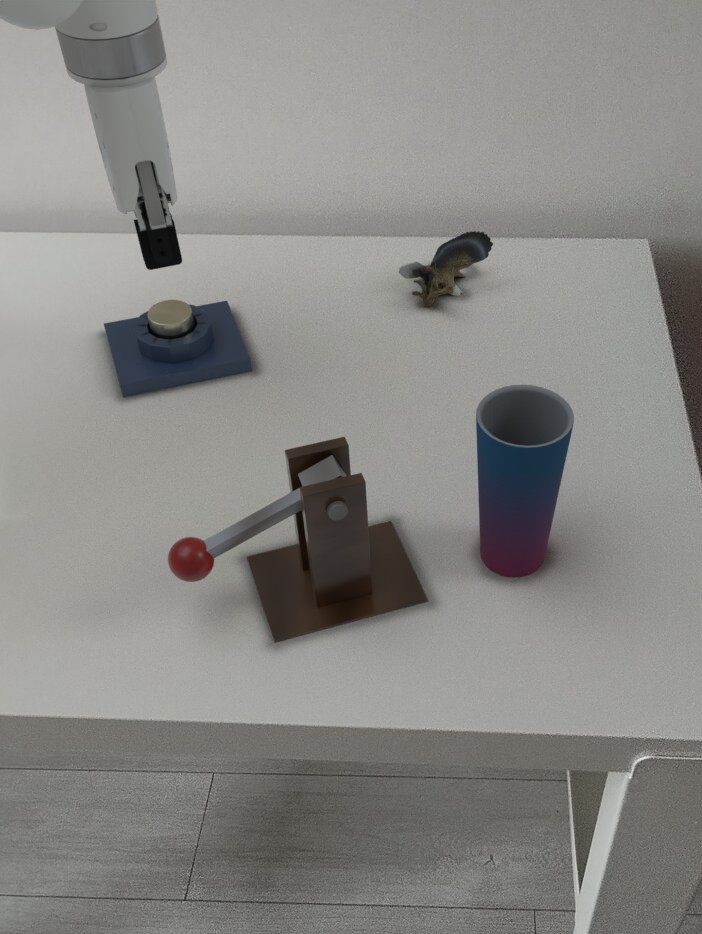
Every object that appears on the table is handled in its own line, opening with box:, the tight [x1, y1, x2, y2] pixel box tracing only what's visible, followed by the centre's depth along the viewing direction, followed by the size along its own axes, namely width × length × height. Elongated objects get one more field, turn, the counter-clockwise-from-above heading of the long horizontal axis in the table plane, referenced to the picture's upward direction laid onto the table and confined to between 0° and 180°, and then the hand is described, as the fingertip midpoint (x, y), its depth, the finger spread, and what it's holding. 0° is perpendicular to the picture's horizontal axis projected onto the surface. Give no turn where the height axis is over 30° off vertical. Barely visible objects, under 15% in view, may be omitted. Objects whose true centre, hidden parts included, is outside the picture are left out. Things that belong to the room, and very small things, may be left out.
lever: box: [167, 455, 346, 583], centre depth 73 cm, size 14×3×3 cm, turn 111°
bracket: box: [245, 436, 429, 644], centre depth 77 cm, size 12×9×13 cm
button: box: [147, 299, 195, 340], centre depth 97 cm, size 4×4×2 cm
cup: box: [475, 384, 575, 578], centre depth 78 cm, size 7×7×15 cm
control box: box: [103, 300, 253, 398], centre depth 98 cm, size 12×10×4 cm
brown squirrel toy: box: [398, 230, 494, 308], centre depth 106 cm, size 8×7×9 cm
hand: (163, 262), depth 92 cm, fingers closed
